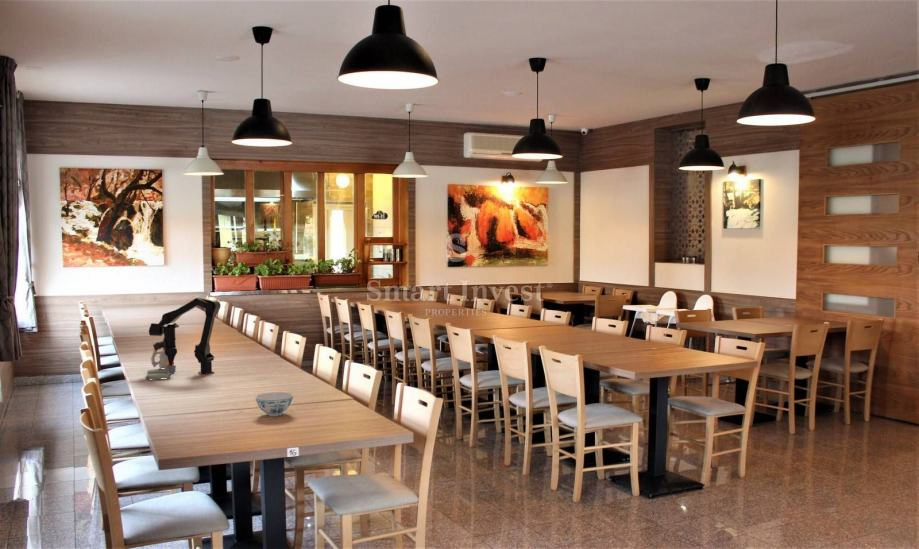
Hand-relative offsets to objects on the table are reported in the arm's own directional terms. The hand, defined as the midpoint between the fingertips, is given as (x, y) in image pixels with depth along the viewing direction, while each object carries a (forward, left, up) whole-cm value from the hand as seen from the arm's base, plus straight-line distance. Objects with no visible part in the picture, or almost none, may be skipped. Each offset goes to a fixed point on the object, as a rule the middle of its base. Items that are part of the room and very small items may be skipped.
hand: (170, 364), depth 421 cm
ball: (0, 0, +1) cm, 1 cm away
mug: (+17, -3, -4) cm, 18 cm away
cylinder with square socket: (0, 0, -4) cm, 4 cm away
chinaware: (-128, +13, -5) cm, 129 cm away
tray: (-9, +11, -4) cm, 15 cm away
